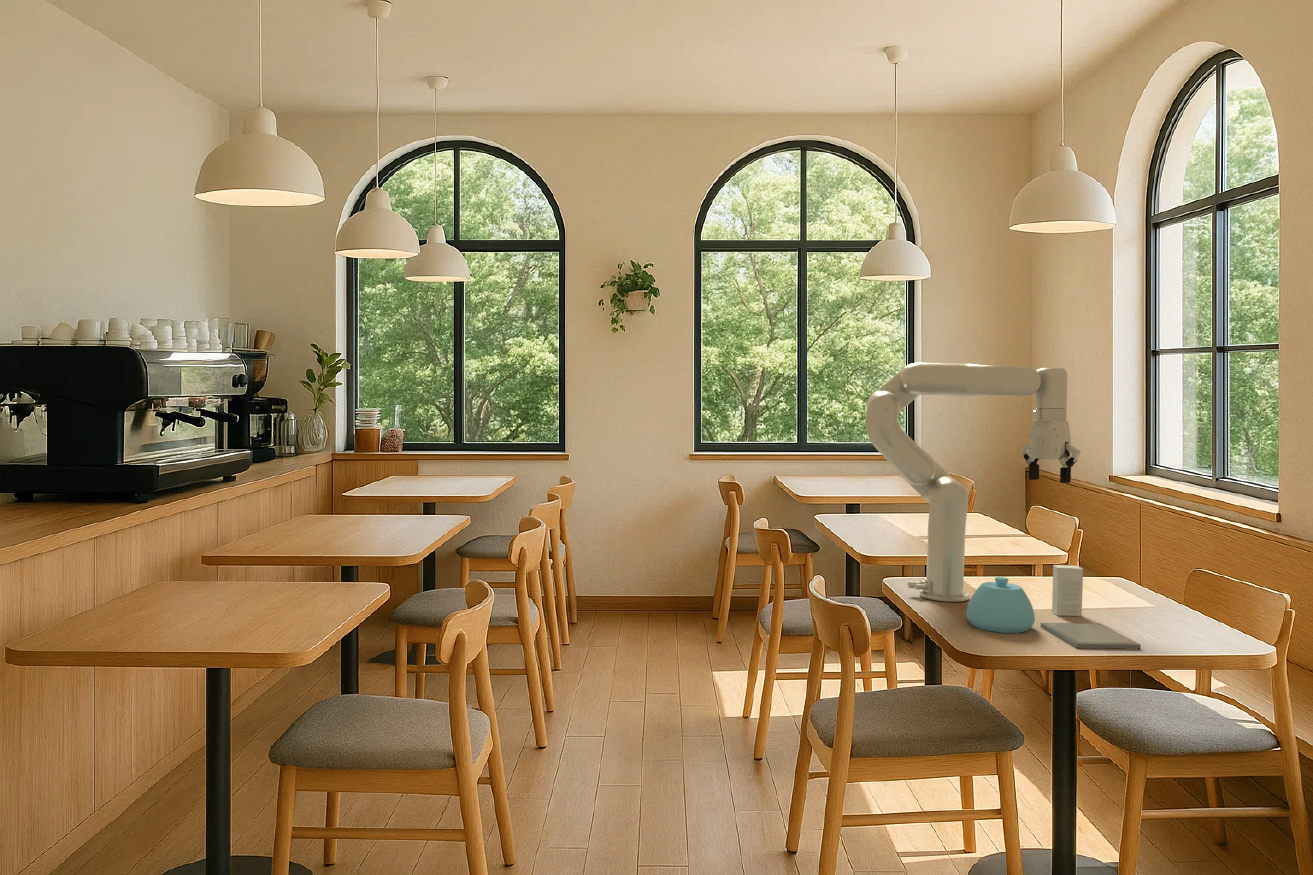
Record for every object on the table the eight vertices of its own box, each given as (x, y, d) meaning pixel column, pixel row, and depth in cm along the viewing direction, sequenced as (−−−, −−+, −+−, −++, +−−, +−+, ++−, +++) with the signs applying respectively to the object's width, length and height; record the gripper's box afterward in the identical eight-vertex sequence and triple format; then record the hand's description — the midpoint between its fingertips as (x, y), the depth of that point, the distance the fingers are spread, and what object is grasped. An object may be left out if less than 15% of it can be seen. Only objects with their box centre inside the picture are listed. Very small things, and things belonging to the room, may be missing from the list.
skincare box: (1075, 612, 235) (1078, 565, 234) (1081, 616, 231) (1084, 568, 230) (1050, 611, 236) (1052, 564, 235) (1056, 615, 231) (1058, 567, 231)
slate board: (1076, 648, 202) (1076, 643, 202) (1040, 626, 220) (1040, 622, 220) (1140, 649, 202) (1140, 644, 202) (1099, 627, 220) (1099, 623, 220)
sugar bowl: (952, 621, 224) (954, 573, 223) (1002, 616, 230) (1004, 569, 229) (996, 637, 210) (999, 586, 209) (1048, 632, 216) (1050, 582, 215)
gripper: (1013, 414, 249) (1012, 479, 250) (1069, 416, 234) (1068, 484, 234) (1033, 414, 252) (1031, 477, 253) (1089, 416, 237) (1088, 483, 238)
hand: (1049, 481), depth 244 cm, fingers open, 9 cm apart
